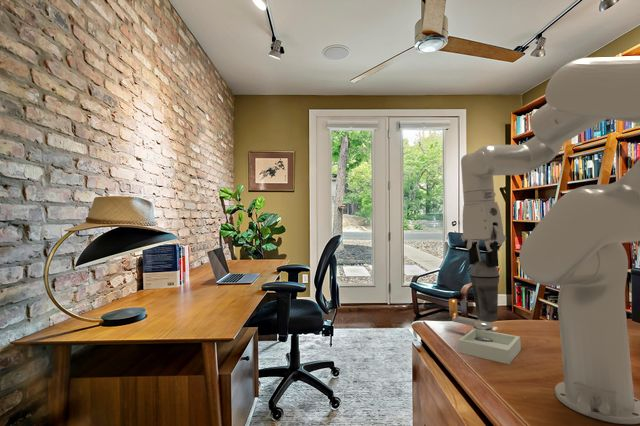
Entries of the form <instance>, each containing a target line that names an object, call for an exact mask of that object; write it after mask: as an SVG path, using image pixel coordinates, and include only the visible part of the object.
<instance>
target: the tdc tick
mask: <svg viewBox="0 0 640 426" xmlns="http://www.w3.org/2000/svg"><path fill="white" fill-rule="evenodd" d="M492 327H493V329H492V330H490V331H492V332H496V331H497V330H498V328H499V327H497V326H492Z"/></svg>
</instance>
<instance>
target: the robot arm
mask: <svg viewBox="0 0 640 426" xmlns="http://www.w3.org/2000/svg"><path fill="white" fill-rule="evenodd" d="M544 92H545V93H544V99H545V100H546V102H547V103H545V104H544V105H543V106H542V107H541V106H540V107H539V108H538V109H537V110H535V112H534V113H533V114H532V115H531V117H530V118H531V119H530V128H531V131H532V133H533V134H534V136H533V137H531V138H530V139H528V140H527V141H525V142H524V143H521V144H486V145H484V146H481V147H480V148H477V150H475V151H473V152H470V153H466V154H465V155H463V156H462V157H461V159H460V166H461V181H462V194H463V196H462V197H463V207H462V234H461V235H460V238H461V240H462V242H463V243H464V245H465V246H466V250H467V251H468V262H469V263H468V264H469V265H471V266H472V265H473V264H474V263H476V262H478V261H479V257H478V252H477V247H476V244H478V245H479V244H480V241H484V242H483V243H484V244H485V245H484V246H485V247H486V250H487V251H485V261H486V266H487V267H496V268H499V251H500V250H501V249H500V248H501V246H503V243H504V242H505V241H506V240H507V236H506V235H505V234H504V229H503V219H502V213H501V210H500V207H499V204H498V202H497V201H496V199H495V197H496V191H495V187H494V185H495V184H494V176H520V175H525V174H529V173H530V172H533V171H535V170H536V169H538V168H540V167H542V166H543V165H546V164H548V163H550V161H552V160H554V159H555V158H556V156H557V155H558V154H559V153H560V152H561V150H562V148H563V146H564V144H565V143H566V142H569V140H572V139H573V138H576V137H577V136H579V135H581V134H582V133H584V132H585V131H588V130H589V129H592V128H593V127H594V126H596V125H599V124H601V123H602V122H604V121H605V120H611V121H619V122H625V123H634V124H640V55H628V56H626V55H625V56H608V57H607V56H605V57H604V56H603V57H602V56H601V57H582V58H577V59H574V60H572V61H569V62H567V63H566V64H564V65H563V66H562V67H561V66H560V68H559V69H558V70H556V71H555V72H554V74H553V75H552V76H551V78H550V79H549V80H548V82H547V85H546V88H545V91H544ZM634 242H640V158H638V160H637V161H636V162H635V163H634V164H633V165H632V167H631V168H630V169H628V170H627V171H626V173H625V174H624V175H622V176H620V178H619V179H617V180H616V181H614V182H612V183H607V184H606V183H605V184H589V185H584V186H580V187H576V188H574V189H571V190H570V191H568V192H566V193H565V194H564V195H562V196H561V197H560V198H559V199H557V201H556V202H554V204H553V205H552V206H551V207H550V209H549V210H547V212H546V213H545V215H543V217H542V218H541V220H540V221H538V223H537V224H536V226H535V227H534V228H533V230H532V231H530V233H529V235H527V237H526V238H525V239H524V242H523V244H522V245H521V247H520V251H519V257H518V258H519V264H520V266H519V267H520V268H521V270H522V272H523V273H524V275H525V276H526V277H527V278H528V279H530V280H531V281H532V282H535V283H536V284H539V285H543V286H549V287H558V286H560V289H559V292H558V298H557V309H558V310H557V312H558V314H557V315H558V323H559V324H558V325H559V336H560V346H561V347H560V349H561V350H560V351H561V360H562V371H563V372H562V373H563V380H564V381H561V382H558V383H557V384H556V385H555V387H554V394H555V396H556V398H557V399H558V400H559V402H561V403H562V404H563V405H565V406H566V407H567V408H569V409H571V410H573V411H575V412H577V413H578V414H581V415H584V416H587V417H589V418H592V419H595V420H599V421H601V422H602V421H603V422H608V423H612V424H620V425H637V424H640V400H639V399H638V398H637V397H635V395H634V384H633V374H632V364H631V355H630V353H631V352H630V343H629V334H628V333H629V331H628V323H627V321H628V320H627V311H626V285H627V284H626V283H627V278H628V270H629V269H628V268H629V260H628V259H629V258H628V257H629V256H628V255H627V254H628V253H627V251H626V249H625V247H624V246H623V244H625V243H634ZM479 251H480V249H479ZM480 252H481V251H480Z"/></svg>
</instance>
